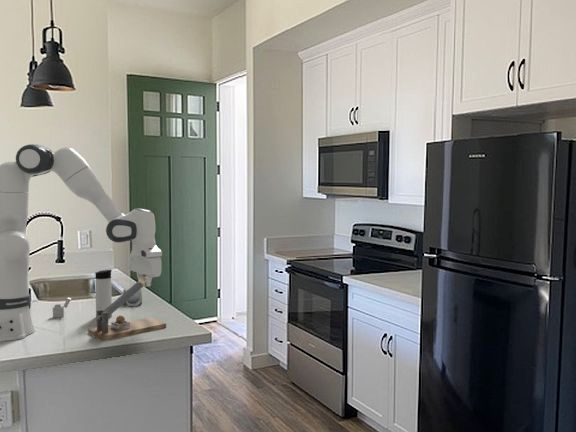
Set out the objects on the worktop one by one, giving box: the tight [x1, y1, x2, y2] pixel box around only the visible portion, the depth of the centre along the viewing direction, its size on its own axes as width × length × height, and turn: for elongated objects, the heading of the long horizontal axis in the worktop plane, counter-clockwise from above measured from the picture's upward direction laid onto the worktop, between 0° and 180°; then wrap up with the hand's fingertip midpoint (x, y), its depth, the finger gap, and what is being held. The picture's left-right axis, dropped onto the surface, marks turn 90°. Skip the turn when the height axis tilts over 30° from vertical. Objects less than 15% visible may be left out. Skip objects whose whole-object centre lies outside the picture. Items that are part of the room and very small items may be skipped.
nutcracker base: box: [87, 310, 167, 341], centre depth 201 cm, size 26×12×9 cm, turn 133°
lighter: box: [52, 297, 72, 319], centre depth 219 cm, size 7×2×8 cm, turn 110°
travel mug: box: [94, 269, 113, 319], centre depth 219 cm, size 6×7×20 cm
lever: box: [96, 275, 147, 322], centre depth 199 cm, size 24×4×4 cm
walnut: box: [115, 315, 126, 324], centre depth 199 cm, size 3×3×3 cm
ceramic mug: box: [122, 287, 143, 308], centre depth 242 cm, size 11×8×8 cm
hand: (144, 285), depth 205 cm, fingers closed on lever, 4 cm apart
